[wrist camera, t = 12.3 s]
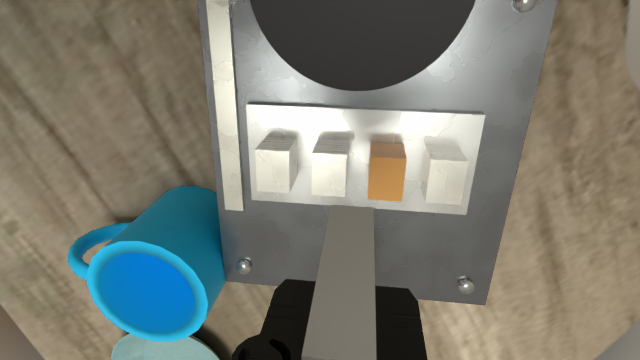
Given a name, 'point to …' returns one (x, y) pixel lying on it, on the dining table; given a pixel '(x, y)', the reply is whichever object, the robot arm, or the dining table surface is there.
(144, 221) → the mug
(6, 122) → the dining table surface
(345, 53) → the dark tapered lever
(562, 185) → the dining table surface
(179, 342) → the saucer
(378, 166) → the orange cube
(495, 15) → the breaker panel
